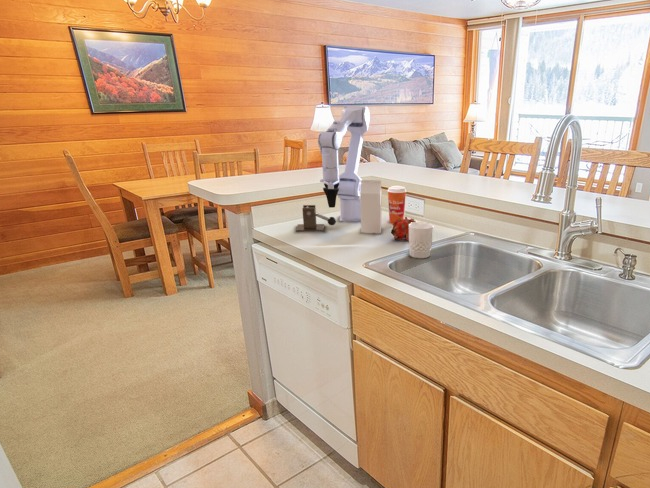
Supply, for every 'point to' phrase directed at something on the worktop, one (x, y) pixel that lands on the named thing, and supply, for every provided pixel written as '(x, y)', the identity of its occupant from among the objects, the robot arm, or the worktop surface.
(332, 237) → the worktop surface
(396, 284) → the worktop surface
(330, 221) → the faucet lever
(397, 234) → the dragon fruit
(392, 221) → the paper cup
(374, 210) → the milk carton
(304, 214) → the faucet bracket
